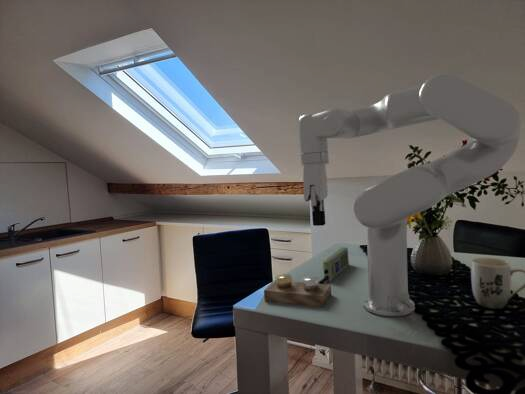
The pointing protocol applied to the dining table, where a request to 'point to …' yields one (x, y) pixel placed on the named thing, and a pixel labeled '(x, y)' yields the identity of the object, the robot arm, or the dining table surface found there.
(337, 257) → the handheld radio
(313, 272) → the dining table surface
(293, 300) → the panel
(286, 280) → the brass knob
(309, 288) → the steel knob
